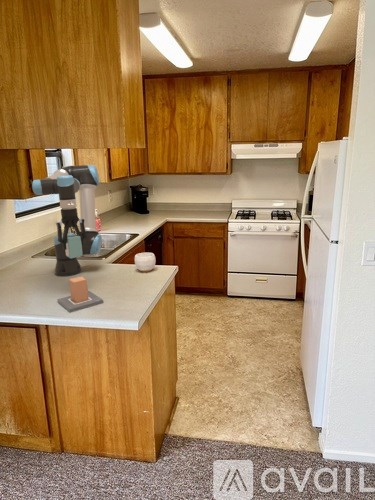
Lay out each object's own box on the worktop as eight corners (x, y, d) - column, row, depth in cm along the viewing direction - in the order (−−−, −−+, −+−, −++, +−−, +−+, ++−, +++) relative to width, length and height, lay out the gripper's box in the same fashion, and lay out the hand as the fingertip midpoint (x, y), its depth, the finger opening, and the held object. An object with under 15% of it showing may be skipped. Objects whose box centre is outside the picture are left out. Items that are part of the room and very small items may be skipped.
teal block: (66, 256, 178) (63, 236, 176) (78, 253, 182) (75, 234, 179) (70, 258, 174) (68, 238, 171) (82, 256, 177) (80, 236, 175)
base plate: (57, 302, 169) (57, 299, 169) (89, 293, 179) (89, 290, 178) (69, 312, 157) (69, 309, 156) (103, 302, 166) (103, 299, 166)
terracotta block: (71, 299, 168) (68, 279, 165) (83, 296, 171) (81, 276, 169) (76, 303, 163) (73, 282, 161) (88, 299, 167) (86, 279, 164)
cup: (156, 267, 219) (155, 251, 216) (155, 273, 207) (154, 257, 205) (136, 267, 219) (135, 252, 216) (134, 274, 207) (133, 258, 204)
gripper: (51, 211, 163) (57, 259, 169) (90, 206, 174) (95, 252, 180) (46, 209, 169) (52, 256, 175) (84, 205, 180) (89, 249, 186)
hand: (74, 254), depth 177 cm, fingers closed on teal block, 6 cm apart
